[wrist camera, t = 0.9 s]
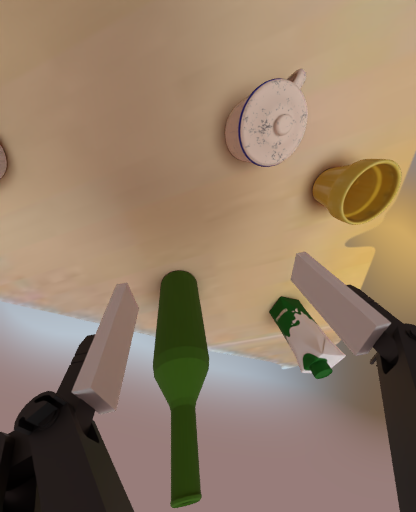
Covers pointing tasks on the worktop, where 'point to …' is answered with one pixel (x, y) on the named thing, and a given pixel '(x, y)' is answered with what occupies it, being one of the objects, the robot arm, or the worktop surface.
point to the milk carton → (305, 338)
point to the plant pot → (358, 189)
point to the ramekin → (2, 162)
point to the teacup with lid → (269, 122)
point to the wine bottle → (181, 377)
